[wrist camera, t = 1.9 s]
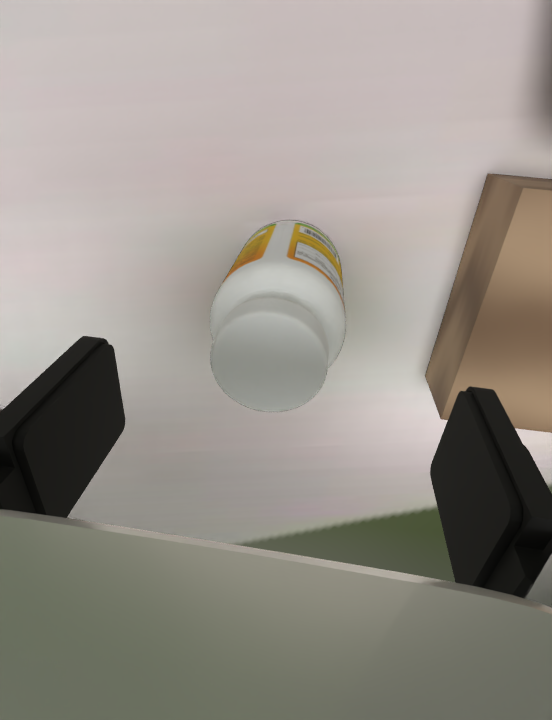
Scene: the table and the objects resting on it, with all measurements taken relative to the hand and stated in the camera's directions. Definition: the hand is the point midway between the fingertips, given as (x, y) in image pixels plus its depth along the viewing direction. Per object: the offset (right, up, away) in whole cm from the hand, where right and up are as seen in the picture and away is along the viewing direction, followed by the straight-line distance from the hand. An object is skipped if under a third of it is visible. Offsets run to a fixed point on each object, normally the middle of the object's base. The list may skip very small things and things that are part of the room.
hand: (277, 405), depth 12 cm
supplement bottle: (+1, +6, +11) cm, 13 cm away
